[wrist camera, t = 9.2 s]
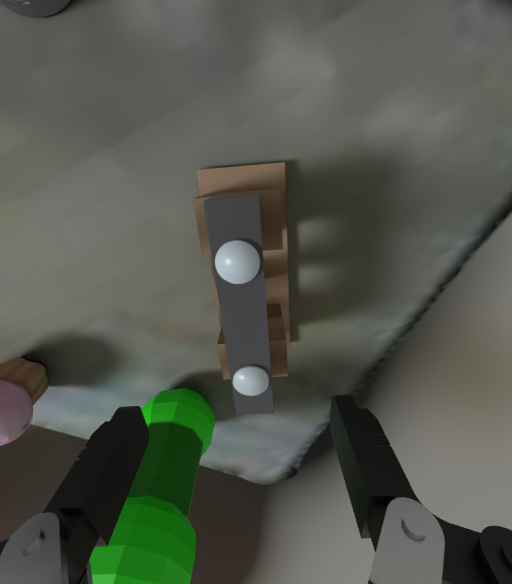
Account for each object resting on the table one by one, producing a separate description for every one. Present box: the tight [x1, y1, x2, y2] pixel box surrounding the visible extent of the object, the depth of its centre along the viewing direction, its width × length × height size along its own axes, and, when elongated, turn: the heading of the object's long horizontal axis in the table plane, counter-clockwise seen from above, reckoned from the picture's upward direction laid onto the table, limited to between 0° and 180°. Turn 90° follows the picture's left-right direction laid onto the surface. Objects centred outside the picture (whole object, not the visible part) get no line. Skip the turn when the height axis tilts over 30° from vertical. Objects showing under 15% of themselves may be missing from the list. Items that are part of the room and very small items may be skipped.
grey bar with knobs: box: [203, 192, 274, 415], centre depth 19 cm, size 16×3×4 cm, turn 5°
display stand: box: [193, 162, 290, 380], centre depth 24 cm, size 20×8×8 cm, turn 5°
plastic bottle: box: [89, 388, 215, 584], centre depth 25 cm, size 10×10×25 cm
